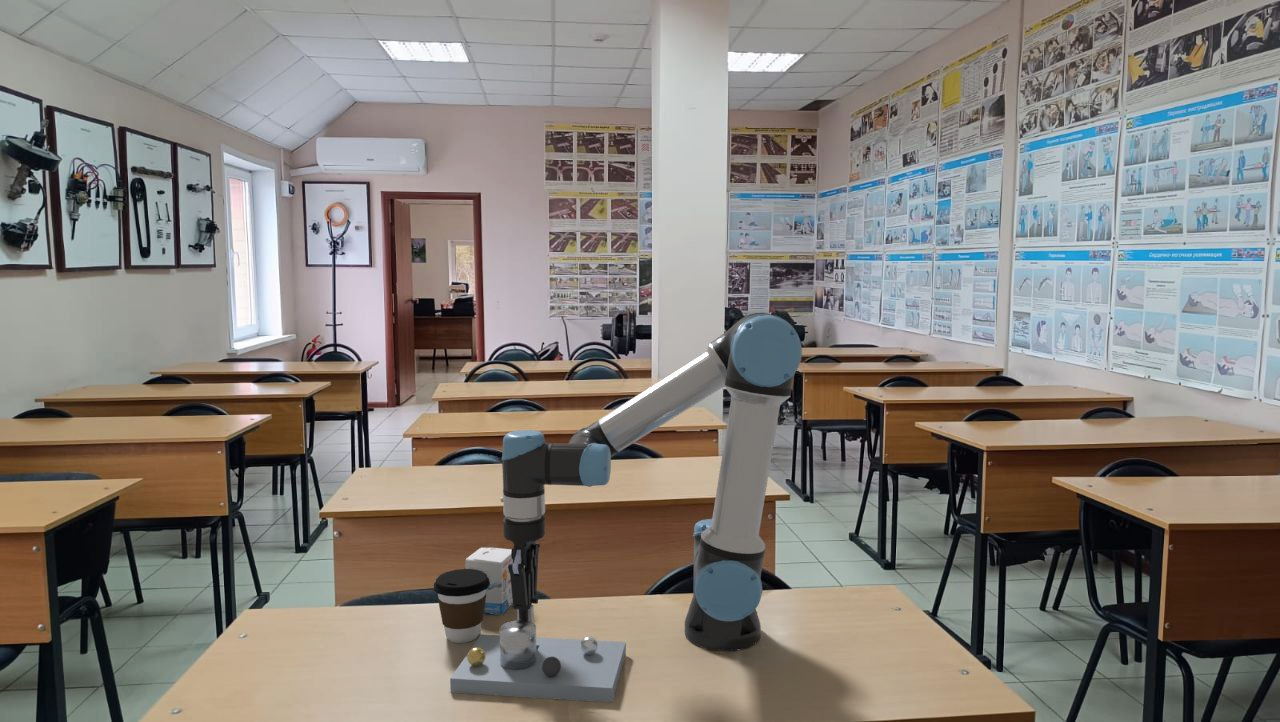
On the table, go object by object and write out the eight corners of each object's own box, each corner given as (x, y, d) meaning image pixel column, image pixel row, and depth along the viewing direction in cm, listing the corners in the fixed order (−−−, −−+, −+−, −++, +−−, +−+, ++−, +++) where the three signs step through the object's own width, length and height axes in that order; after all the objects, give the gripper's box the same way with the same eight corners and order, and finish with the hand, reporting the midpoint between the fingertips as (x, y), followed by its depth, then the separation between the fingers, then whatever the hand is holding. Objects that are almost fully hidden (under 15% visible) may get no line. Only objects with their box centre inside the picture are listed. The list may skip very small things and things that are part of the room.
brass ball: (488, 661, 140) (487, 644, 140) (482, 670, 137) (482, 652, 137) (470, 660, 140) (470, 643, 140) (464, 669, 137) (464, 651, 137)
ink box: (502, 615, 165) (501, 562, 164) (464, 612, 167) (463, 559, 166) (517, 599, 174) (516, 548, 172) (481, 596, 175) (480, 545, 174)
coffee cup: (472, 652, 149) (471, 591, 148) (423, 644, 152) (421, 584, 151) (501, 628, 159) (500, 571, 158) (454, 621, 163) (452, 565, 161)
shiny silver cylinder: (540, 652, 143) (539, 621, 142) (531, 669, 136) (530, 636, 136) (506, 650, 143) (505, 619, 143) (495, 667, 137) (494, 634, 136)
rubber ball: (562, 671, 136) (562, 653, 136) (558, 680, 133) (558, 662, 133) (544, 670, 137) (544, 652, 136) (540, 679, 134) (540, 661, 133)
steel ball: (599, 650, 144) (599, 633, 144) (596, 658, 141) (596, 641, 141) (582, 649, 145) (582, 632, 144) (578, 657, 141) (578, 640, 141)
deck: (625, 654, 148) (625, 642, 148) (612, 702, 131) (612, 688, 131) (481, 646, 151) (481, 634, 151) (450, 692, 134) (450, 678, 134)
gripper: (514, 505, 150) (516, 623, 152) (493, 525, 137) (495, 655, 139) (552, 506, 149) (553, 625, 151) (534, 527, 136) (536, 657, 138)
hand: (525, 639), depth 145 cm, fingers closed
